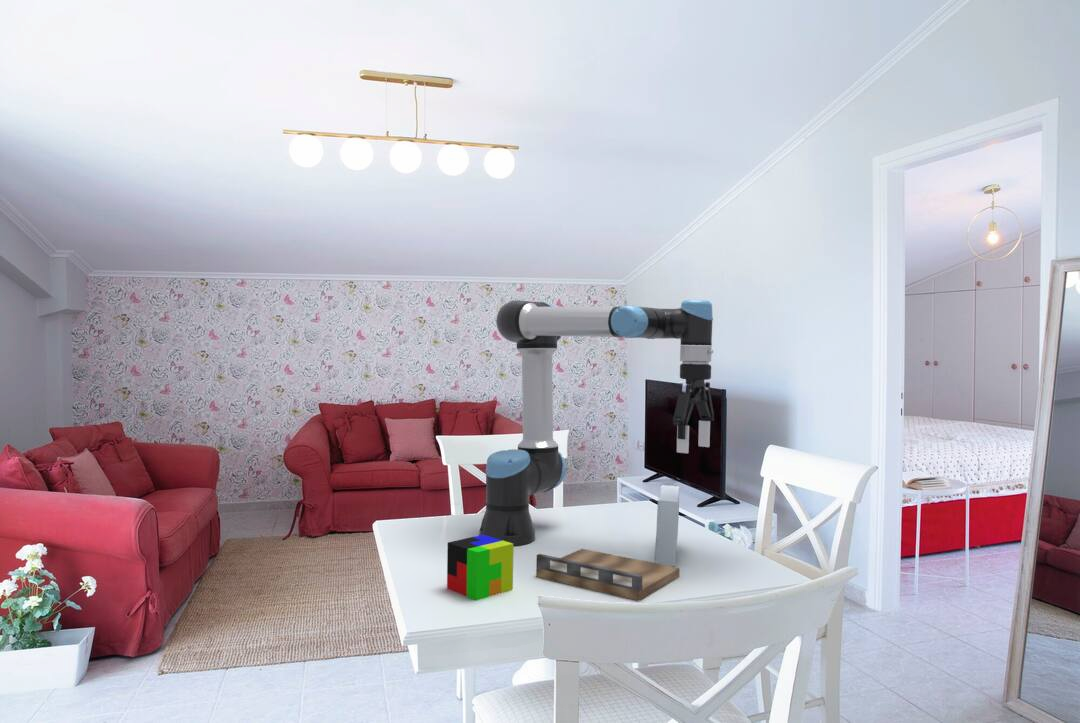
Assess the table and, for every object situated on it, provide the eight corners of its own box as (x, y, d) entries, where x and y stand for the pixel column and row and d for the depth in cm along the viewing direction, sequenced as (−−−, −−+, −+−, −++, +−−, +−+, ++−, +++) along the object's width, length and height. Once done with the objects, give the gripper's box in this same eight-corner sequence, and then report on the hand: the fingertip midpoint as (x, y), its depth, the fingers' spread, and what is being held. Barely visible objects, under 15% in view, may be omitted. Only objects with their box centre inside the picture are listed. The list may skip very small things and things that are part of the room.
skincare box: (677, 567, 176) (678, 501, 175) (654, 565, 177) (655, 500, 176) (678, 544, 196) (679, 485, 196) (657, 543, 197) (659, 484, 197)
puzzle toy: (482, 578, 165) (483, 534, 165) (512, 589, 158) (513, 543, 158) (446, 588, 158) (447, 542, 158) (476, 600, 151) (477, 552, 151)
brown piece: (535, 577, 167) (536, 555, 166) (582, 556, 183) (582, 536, 183) (639, 601, 152) (639, 577, 152) (679, 576, 168) (679, 554, 168)
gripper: (690, 364, 168) (688, 457, 168) (728, 363, 188) (726, 445, 189) (660, 363, 172) (657, 453, 172) (700, 362, 193) (698, 442, 193)
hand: (693, 449), depth 181 cm, fingers open, 13 cm apart
